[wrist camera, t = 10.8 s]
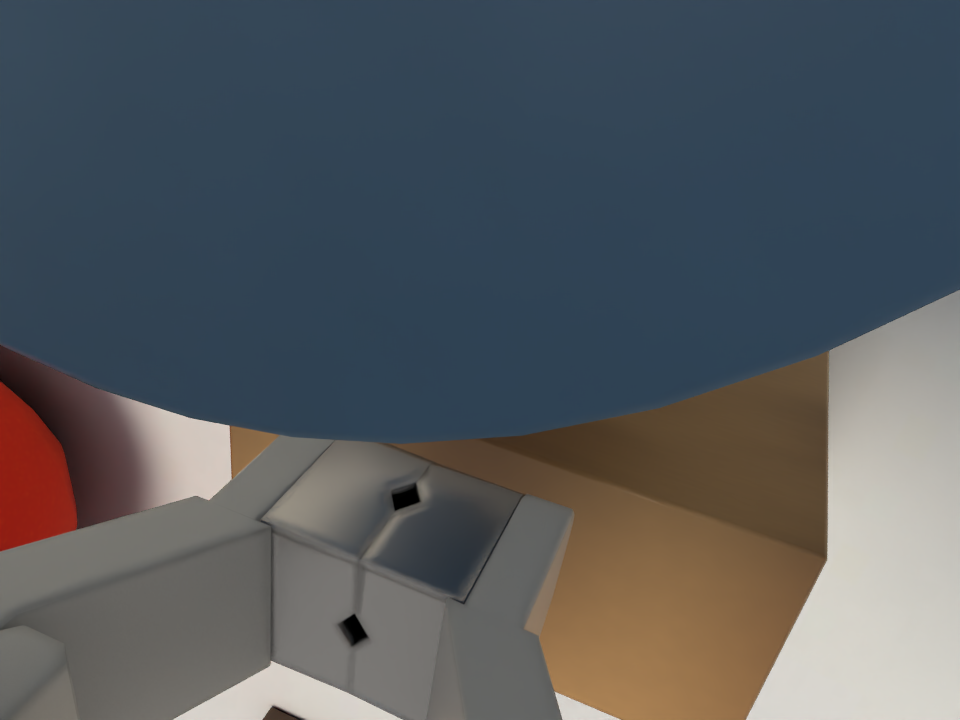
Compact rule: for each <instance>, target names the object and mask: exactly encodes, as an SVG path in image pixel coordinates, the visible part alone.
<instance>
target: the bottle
mask: <svg viewBox="0 0 960 720" xmlns="http://www.w3.org/2000/svg"><path fill="white" fill-rule="evenodd" d="M958 290H960V0H0V345H2V346H4V347H5V348H7V349H9V350H12V351H14V352H16V353H18V354H21V355H23V356H25V357H27V358H30V359H32V360H34V361H36V362H39V363H41V364H43V365H45V366H48V367H50V368H52V369H54V370H57V371H59V372H61V373H63V374H66V375H68V376H70V377H73V378H75V379H77V380H79V381H82V382H84V383H86V384H88V385H91V386H93V387H95V388H98V389H101V390H104V391H107V392H110V393H113V394H117V395H120V396H123V397H126V398H129V399H132V400H135V401H139V402H142V403H145V404H148V405H151V406H154V407H158V408H161V409H164V410H167V411H170V412H173V413H176V414H180V415H183V416H186V417H189V418H193V419H199V420H204V421H209V422H214V423H220V424H225V425H230V426H235V427H241V428H246V429H251V430H257V431H262V432H267V433H272V434H278V435H283V436H288V437H297V438H314V439H330V440H346V441H363V442H379V443H395V444H406V443H421V442H435V441H450V440H465V439H479V438H494V437H509V436H522V435H527V434H532V433H537V432H542V431H548V430H553V429H558V428H563V427H568V426H573V425H578V424H583V423H588V422H593V421H598V420H603V419H608V418H613V417H618V416H623V415H628V414H633V413H638V412H643V411H648V410H653V409H658V408H661V407H664V406H667V405H670V404H673V403H676V402H679V401H682V400H685V399H688V398H691V397H694V396H698V395H701V394H704V393H707V392H710V391H713V390H716V389H719V388H722V387H725V386H728V385H731V384H734V383H737V382H740V381H743V380H746V379H749V378H752V377H755V376H758V375H761V374H764V373H767V372H770V371H773V370H776V369H779V368H782V367H785V366H788V365H791V364H794V363H797V362H800V361H803V360H806V359H809V358H812V357H815V356H818V355H820V354H822V353H824V352H827V351H829V350H831V349H833V348H835V347H837V346H839V345H842V344H844V343H846V342H848V341H850V340H852V339H854V338H857V337H859V336H861V335H863V334H865V333H867V332H870V331H872V330H874V329H876V328H878V327H880V326H882V325H885V324H887V323H889V322H891V321H893V320H895V319H897V318H900V317H902V316H904V315H906V314H908V313H910V312H912V311H915V310H917V309H919V308H921V307H923V306H925V305H928V304H930V303H932V302H934V301H936V300H938V299H940V298H943V297H945V296H947V295H949V294H951V293H953V292H955V291H958Z"/></svg>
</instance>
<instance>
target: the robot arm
mask: <svg viewBox="0 0 960 720" xmlns="http://www.w3.org/2000/svg"><path fill="white" fill-rule="evenodd" d="M573 520H574V511H573V509H571V508H568V507H565V506H562V505H559V504H556V503H553V502H550V501H547V500H544V499H541V498H538V497H535V496H532V495H529V494H523V493H521V492H518V491H515V490H512V489H509V488H507V487H504V486H501V485H498V484H495V483H493V482H490V481H487V480H484V479H481V478H479V477H476V476H473V475H470V474H467V473H465V472H462V471H459V470H456V469H453V468H451V467H448V466H445V465H442V464H439V463H436V462H434V461H432V460H429V459H426V458H424V457H421V456H419V455H416V454H414V453H411V452H409V451H406V450H403V449H401V448H398V447H396V446H393V445H391V444H388V443H379V442H363V441H346V440H330V439H314V438H297V437H288V436H283V435H279V436H278V437H277V438H276V439H275V440H274V441H273V442H272V443H271V444H270V445H269V446H268V447H266V448H265V449H264V450H263V451H262V452H261V453H260V454H259V455H258V456H257V457H256V458H255V459H253V460H252V461H251V462H250V463H249V464H248V465H247V466H246V467H245V468H244V469H243V470H242V471H240V472H239V473H238V474H237V475H236V476H235V477H234V478H233V479H232V480H231V481H230V482H229V483H228V484H226V485H225V486H224V487H223V488H222V489H221V490H220V491H219V492H218V493H217V494H216V495H215V496H213V497H212V498H211V499H210V500H209V501H208V500H206V499H203V498H200V497H198V496H194V497H190V498H187V499H183V500H180V501H176V502H173V503H169V504H166V505H162V506H159V507H155V508H152V509H148V510H145V511H141V512H138V513H134V514H131V515H127V516H124V517H120V518H117V519H113V520H110V521H106V522H102V523H99V524H95V525H92V526H88V527H85V528H81V529H78V530H74V531H71V532H67V533H64V534H60V535H57V536H53V537H50V538H46V539H43V540H39V541H36V542H32V543H29V544H25V545H22V546H18V547H15V548H11V549H8V550H4V551H0V720H172V719H174V718H176V717H178V716H180V715H182V714H183V713H185V712H187V711H189V710H191V709H192V708H194V707H196V706H198V705H200V704H202V703H203V702H205V701H207V700H209V699H211V698H212V697H214V696H216V695H218V694H220V693H222V692H223V691H225V690H227V689H229V688H231V687H233V686H234V685H236V684H238V683H240V682H242V681H243V680H245V679H247V678H249V677H251V676H253V675H254V674H256V673H258V672H260V671H262V670H264V669H265V668H267V667H269V666H270V664H271V661H273V662H276V663H278V664H281V665H283V666H285V667H288V668H290V669H293V670H295V671H297V672H300V673H302V674H305V675H307V676H309V677H312V678H314V679H316V680H319V681H321V682H324V683H326V684H328V685H331V686H333V687H336V688H338V689H340V690H343V691H345V692H347V693H349V694H352V695H354V696H356V697H358V698H360V699H362V700H364V701H366V702H368V703H370V704H372V705H374V706H376V707H378V708H380V709H382V710H384V711H386V712H388V713H390V714H392V715H395V716H397V717H399V718H401V719H403V720H562V717H561V713H560V710H559V706H558V703H557V699H556V696H555V692H554V689H553V685H552V681H551V678H550V674H549V671H548V667H547V664H546V660H545V657H544V653H543V650H542V646H541V643H540V639H539V637H540V634H541V631H542V628H543V625H544V622H545V619H546V616H547V613H548V610H549V606H550V603H551V600H552V597H553V594H554V590H555V587H556V583H557V580H558V576H559V572H560V569H561V565H562V561H563V558H564V554H565V551H566V547H567V543H568V540H569V536H570V533H571V529H572V525H573Z"/></svg>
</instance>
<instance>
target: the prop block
mask: <svg viewBox="0 0 960 720" xmlns="http://www.w3.org/2000/svg"><path fill="white" fill-rule="evenodd" d="M828 406H829V351H827V352H824V353H822V354H820V355H818V356H815V357H812V358H809V359H806V360H803V361H800V362H797V363H794V364H791V365H788V366H785V367H782V368H779V369H776V370H773V371H770V372H767V373H764V374H761V375H758V376H755V377H752V378H749V379H746V380H743V381H740V382H737V383H734V384H731V385H728V386H725V387H722V388H719V389H716V390H713V391H710V392H707V393H704V394H701V395H698V396H694V397H691V398H688V399H685V400H682V401H679V402H676V403H673V404H670V405H667V406H664V407H661V408H658V409H653V410H648V411H643V412H638V413H633V414H628V415H623V416H618V417H613V418H608V419H603V420H598V421H593V422H588V423H583V424H578V425H573V426H568V427H563V428H558V429H553V430H548V431H542V432H537V433H532V434H527V435H522V436H509V437H494V438H479V439H465V440H450V441H435V442H421V443H406V444H395V443H388V444H391V445H393V446H396V447H398V448H401V449H403V450H406V451H409V452H411V453H414V454H416V455H419V456H421V457H424V458H426V459H429V460H432V461H434V462H436V463H439V464H442V465H445V466H448V467H451V468H453V469H456V470H459V471H462V472H465V473H467V474H470V475H473V476H476V477H479V478H481V479H484V480H487V481H490V482H493V483H495V484H498V485H501V486H504V487H507V488H509V489H512V490H515V491H518V492H521V493H523V494H529V495H532V496H535V497H538V498H541V499H544V500H547V501H550V502H553V503H556V504H559V505H562V506H565V507H568V508H571V509H573V511H574V520H573V525H572V529H571V533H570V536H569V540H568V543H567V547H566V551H565V554H564V558H563V561H562V565H561V569H560V572H559V576H558V580H557V583H556V587H555V590H554V594H553V597H552V600H551V603H550V606H549V610H548V613H547V616H546V619H545V622H544V625H543V628H542V631H541V634H540V637H539V639H540V643H541V646H542V650H543V653H544V657H545V660H546V664H547V667H548V671H549V674H550V678H551V681H552V685H553V689H554V691H555V692H557V693H559V694H562V695H564V696H567V697H569V698H571V699H574V700H576V701H578V702H581V703H583V704H586V705H588V706H590V707H593V708H595V709H597V710H600V711H602V712H604V713H607V714H609V715H612V716H614V717H616V718H619V719H621V720H746V718H747V716H748V714H749V712H750V710H751V708H752V707H753V705H754V703H755V701H756V699H757V697H758V695H759V693H760V691H761V689H762V687H763V685H764V683H765V681H766V679H767V677H768V675H769V673H770V671H771V669H772V667H773V665H774V663H775V661H776V659H777V657H778V655H779V653H780V651H781V649H782V648H783V646H784V644H785V642H786V640H787V638H788V636H789V634H790V632H791V630H792V628H793V626H794V624H795V622H796V620H797V618H798V616H799V614H800V612H801V610H802V608H803V606H804V604H805V602H806V600H807V598H808V596H809V594H810V592H811V591H812V589H813V587H814V585H815V583H816V581H817V579H818V577H819V575H820V573H821V571H822V569H823V567H824V565H825V563H826V561H827V534H828ZM278 436H279V435H278V434H272V433H267V432H262V431H257V430H251V429H246V428H241V427H235V426H230V444H231V471H232V479H233V478H234V477H235V476H236V475H237V474H238V473H239V472H240V471H242V470H243V469H244V468H245V467H246V466H247V465H248V464H249V463H250V462H251V461H252V460H253V459H255V458H256V457H257V456H258V455H259V454H260V453H261V452H262V451H263V450H264V449H265V448H266V447H268V446H269V445H270V444H271V443H272V442H273V441H274V440H275V439H276V438H277V437H278Z"/></svg>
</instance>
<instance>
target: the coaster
mask: <svg viewBox="0 0 960 720" xmlns="http://www.w3.org/2000/svg"><path fill="white" fill-rule="evenodd" d="M263 720H298V719H296V718H294V717H292V716H290V715H288V714H286V713H283V712H281V711H279V710H277V709H275V708H273V707H272V708H271V709H270V710H269V711H268V713H267V714H266V716H265V717H264V718H263Z"/></svg>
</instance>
